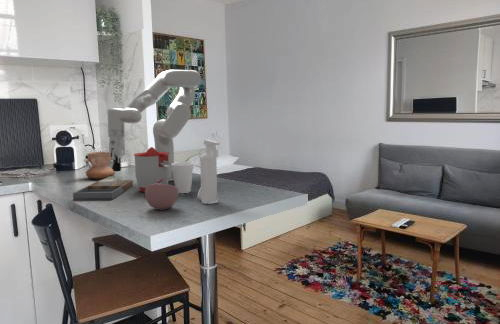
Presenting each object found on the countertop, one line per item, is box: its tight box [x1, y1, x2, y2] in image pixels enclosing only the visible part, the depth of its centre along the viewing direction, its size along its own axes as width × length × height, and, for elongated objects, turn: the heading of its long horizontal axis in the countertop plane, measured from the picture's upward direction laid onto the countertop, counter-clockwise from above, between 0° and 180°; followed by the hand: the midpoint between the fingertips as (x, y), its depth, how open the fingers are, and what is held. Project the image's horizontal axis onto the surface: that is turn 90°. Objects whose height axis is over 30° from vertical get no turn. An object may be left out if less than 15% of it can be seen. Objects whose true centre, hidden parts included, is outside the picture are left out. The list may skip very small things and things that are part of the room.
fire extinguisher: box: [196, 139, 221, 202], centre depth 148 cm, size 7×12×25 cm, turn 46°
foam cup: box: [172, 161, 194, 194], centre depth 167 cm, size 10×9×13 cm
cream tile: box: [98, 179, 117, 186], centre depth 171 cm, size 6×6×2 cm
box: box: [72, 186, 124, 201], centre depth 161 cm, size 16×14×3 cm
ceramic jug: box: [83, 151, 116, 180], centre depth 204 cm, size 18×14×14 cm
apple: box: [144, 178, 179, 210], centre depth 139 cm, size 12×12×11 cm
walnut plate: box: [86, 179, 134, 194], centre depth 175 cm, size 16×14×3 cm
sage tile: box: [105, 175, 123, 183], centre depth 178 cm, size 6×6×2 cm
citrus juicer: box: [133, 146, 170, 193], centre depth 171 cm, size 16×17×20 cm
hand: (117, 170), depth 185 cm, fingers closed
